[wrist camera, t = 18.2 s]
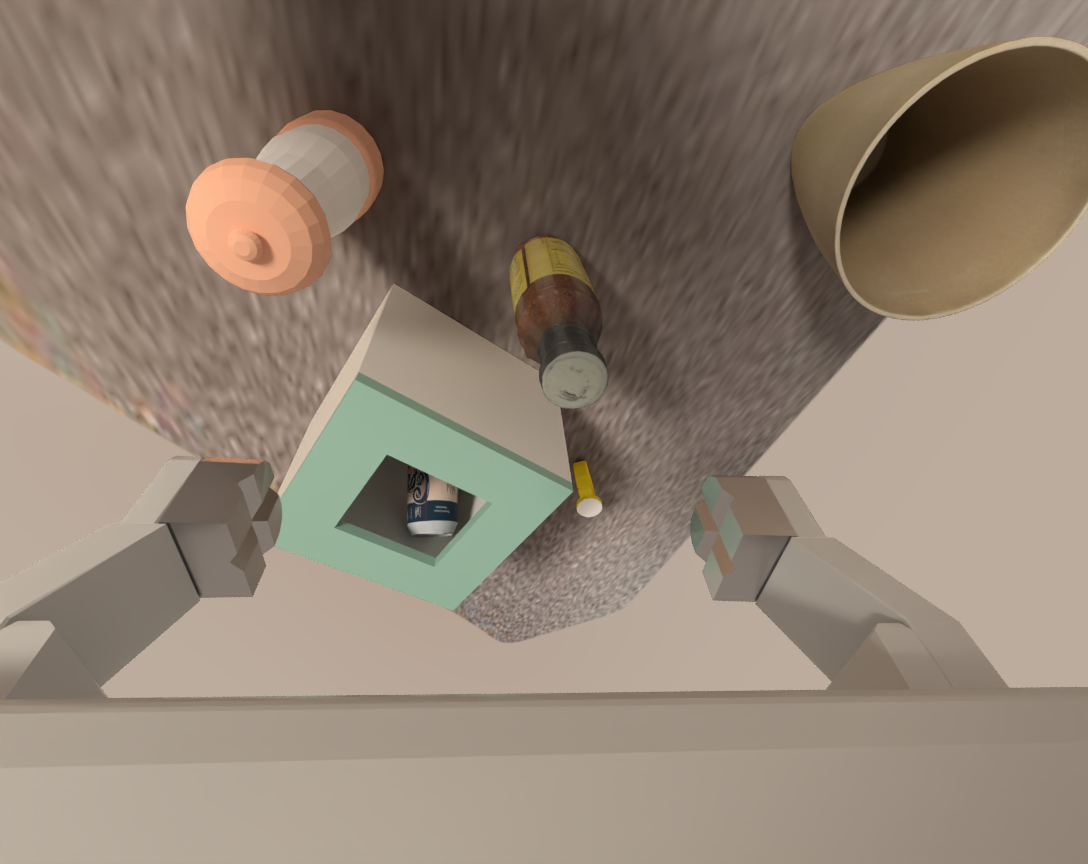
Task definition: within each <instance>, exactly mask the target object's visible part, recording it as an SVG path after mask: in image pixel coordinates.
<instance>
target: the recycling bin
mask: <svg viewBox="0 0 1088 864" xmlns="http://www.w3.org/2000/svg"><path fill="white" fill-rule="evenodd" d="M408 465H410V466H413V467H415V468H417V469H419V470H421V471H423V472H425V473H428V474H430V475H432V476H434V477H436V478H438V479H441V480H443V481H445V482H447V483H449V484H451V485H453V486H456V487H457V514H458V524H457V526H456V528H455V530H454V533H453V535H450V536H443V537H411V534H410V532H409V530H408V528H407V526H406V525H407V471H408ZM572 492H573V486H572V480H571V473H570V467H569V460H568V454H567V448H566V441H565V435H564V428H563V422H562V415H561V409H560V407H559V406H556V405H555V404H553V403H552V402H550V401H549V400H548V399H547V397H546V396H545V395H544V393H543V390H542V387H541V384H540V381H539V371H538V370H536V369H534V368H533V367H531V366H529V365H528V364H526V363H524V362H523V361H521V360H519V359H518V358H516V357H514V356H513V355H511V354H510V353H508V352H506V351H505V350H503V349H501V348H500V347H498V346H496V345H495V344H493V343H491V342H490V341H488V340H486V339H485V338H483V337H481V336H480V335H478V334H477V333H475V332H473V331H472V330H470V329H468V328H467V327H465V326H463V325H462V324H460V323H458V322H457V321H455V320H453V319H452V318H450V317H448V316H447V315H445V314H444V313H442V312H440V311H439V310H437V309H435V308H434V307H432V306H430V305H429V304H427V303H425V302H424V301H422V300H420V299H419V298H417V297H415V296H414V295H412V294H410V293H409V292H407V291H406V290H404V289H402V288H401V287H399V286H397V285H396V284H394V283H393V285H392V287H391V288H390V290H389V292H388V293H387V295H386V297H385V298H384V300H383V302H382V303H381V305H380V307H379V308H378V310H377V312H376V314H375V315H374V317H373V319H372V320H371V322H370V324H369V325H368V327H367V329H366V330H365V332H364V334H363V335H362V337H361V339H360V340H359V342H358V344H357V345H356V347H355V349H354V350H353V352H352V354H351V355H350V357H349V359H348V360H347V362H346V364H345V365H344V367H343V369H342V370H341V372H340V374H339V375H338V377H337V379H336V380H335V382H334V384H333V385H332V387H331V389H330V391H329V392H328V394H327V396H326V397H325V399H324V401H323V402H322V404H321V406H320V407H319V409H318V411H317V412H316V414H315V416H314V417H313V419H312V421H311V423H310V425H309V427H308V429H307V431H306V433H305V436H304V438H303V440H302V442H301V444H300V446H299V448H298V451H297V453H296V455H295V457H294V459H293V461H292V464H291V466H290V468H289V470H288V472H287V474H286V476H285V479H284V481H283V483H282V485H281V487H280V489H279V492H278V495H279V497H280V501H281V505H282V522H281V528H280V533H279V536H278V538H277V541H276V543H275V547H278V548H280V549H283V550H286V551H289V552H292V553H294V554H297V555H300V556H303V557H305V558H309V559H311V560H314V561H317V562H320V563H322V564H325V565H328V566H331V567H333V568H336V569H339V570H342V571H345V572H347V573H350V574H353V575H356V576H358V577H361V578H364V579H367V580H370V581H372V582H375V583H378V584H381V585H383V586H386V587H389V588H392V589H395V590H397V591H400V592H403V593H406V594H409V595H411V596H414V597H417V598H420V599H422V600H425V601H428V602H431V603H434V604H436V605H439V606H442V607H445V608H447V609H450V610H454V609H455V608H456V607H457V606H458V605H459V604H460V603H461V602H462V601H463V600H464V599H465V598H466V597H467V596H468V595H469V594H470V593H471V592H472V591H473V590H474V589H475V588H476V587H477V586H478V585H479V584H480V583H481V582H482V581H483V580H484V579H485V578H486V577H487V576H488V575H489V574H490V573H491V572H492V571H493V570H494V569H495V568H496V567H497V566H498V565H499V564H500V563H501V562H502V561H503V560H504V559H505V558H507V557H508V556H509V555H510V554H511V553H512V552H513V551H514V550H515V549H516V548H517V547H518V546H519V545H520V544H521V543H522V542H523V541H524V540H525V539H526V538H527V537H528V536H529V535H530V534H531V533H532V532H533V531H534V530H535V529H536V528H537V527H538V526H539V525H540V524H541V523H542V522H543V521H544V520H545V519H546V518H547V517H548V516H549V515H550V514H551V513H552V512H553V511H554V510H555V509H556V508H557V507H558V506H559V505H560V504H561V503H562V502H563V501H564V500H565V499H566V498H567V497H568V496H569V495H570V494H571V493H572Z"/></svg>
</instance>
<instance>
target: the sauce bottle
mask: <svg viewBox="0 0 1088 864" xmlns="http://www.w3.org/2000/svg"><path fill="white" fill-rule="evenodd" d="M509 273H510V285H511V293H512V300H513V309H514V318H515V324H516V328H517V330H518V336H519V339H520V343H521V345H522V347H523V349H524V351H525V355H526V356H527V358H530V359H532V360H534V361H536V362H538V363H539V364H540V365H541V366H540V369H539V381H540V384H541V387H542V390H543V393H544V395H545V396H546V397H547V399H548V400H549V401H550V402H552V403H553V404H555V405H556V406H559V407H561V408H568V409H577V408H582V407H586V406H588V405H591V404H593V403H594V402H595V401H597V400H598V399H599V398H600V397H601V396H602V394H603V393H604V391H605V389H606V387H607V385H608V370H607V367H606V363H605V360H604V358H603V356H602V354H601V353H600V352H599V351H598V350H597V342H598V340H599V337H600V334H601V330H602V313H601V308H600V305H599V302H598V300H597V297H596V295H595V292H594V290H593V288H592V285H591V283H590V280H589V278H588V276H587V274H586V272H585V270H584V267H583V265H582V263H581V261H580V259H579V257H578V255H577V253H576V252H575V250H574V249H573V248H572V247H571V246H570V245H569V244H567V243H566V242H565V241H563V240H561V239H559V238H556V237H554V236H552V235H541V236H536V237H534V238H531V239H529V240H527V241H526V242H524V243H523V244H521V245H520V246H519V247H518V249H517V250H516V252H515V254H514V256H513V260H512V263H511V267H510V272H509Z"/></svg>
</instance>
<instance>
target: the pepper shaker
mask: <svg viewBox="0 0 1088 864" xmlns="http://www.w3.org/2000/svg"><path fill="white" fill-rule="evenodd" d="M383 174H384V168H383V163H382V157H381V153H380V151H379V149H378V147H377V145H376V143H375V141H374V139H373V138H372V137H371V135H370V134H369V133H368V132H367V131H366V130H365V128H364V127H363V126H362V125H361V124H359V123H358V122H356V121H355V120H353V119H352V118H350V117H349V116H347V115H345V114H342V113H339V112H335V111H332V110H316V111H312V112H310V113H308V114H306V115H303V116H301V117H299V118H297V119H295V120H293V121H291V122H289V123H287V124H286V125H285V127H284V128H283V129H282V130H281V131H280V132H279V133H278V134H277V135H276V136H275V137H273V138H272V139H271V140H270V141H269V142H268V143H267V145H266V146H265V147H264V148H263V149H262V151H261V152H260V154H259V155H258V157H257V158H256V160H255V159H252V158H230V159H224V160H222V161H220V162H218V163H215V164H213V165H211V166H208V167H207V168H206V169H205V170H204V171H203V172H202V173H201V175H200V176H199V177H198V178H197V179H196V180H195V181H194V183H193V185H192V188H191V191H190V194H189V198H188V201H187V204H186V216H187V228H188V230H189V232H190V235H191V237H192V240H193V242H194V245H195V247H196V249H197V250H198V251H199V253H200V254H201V255H202V257H203V258H204V259H205V261H206V262H207V263H208V265H209V266H210V267H211V268H212V269H213V270H215V271H216V272H217V273H218V274H219V275H221V276H222V277H223V278H224V279H225V280H227V281H228V282H230V283H232V284H234V285H236V286H238V287H240V288H242V289H244V290H246V291H249V292H253V293H257V294H262V295H266V296H276V295H288V294H291V293H293V292H296V291H299V290H301V289H304V288H306V287H309V286H310V285H311V284H312V283H313V282H315V281H316V280H317V279H318V278H319V277H320V276H321V275H322V274H323V272H324V270H325V268H326V265H327V263H328V261H329V259H330V250H331V238H332V237H334V236H336V235H338V234H340V233H341V232H343V231H345V230H346V229H347V228H348V227H349V226H350V225H351V224H352V223H353V222H354V221H355V220H358V219H359V218H360V217H361V216H362V215H363V214H364V213H365V212H366V211H367V210H368V209H369V208H370V206H371V205H372V203H373V202H374V201H375V199H376V197H377V195H378V193H379V191H380V189H381V187H382V182H383Z"/></svg>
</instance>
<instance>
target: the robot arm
mask: <svg viewBox="0 0 1088 864" xmlns="http://www.w3.org/2000/svg"><path fill="white" fill-rule="evenodd" d="M273 479H274V474H273V471H272V468H271V465H270V463H269V462H267V461H265V460H253V459H235V458H217V457H206V458H204V457H189V456H175V457H173V458H171V459H169V460H168V461H167V462H166V463H165V465H164V466H163V467H162V469H161V470H160V471H159V472H158V474H157V475H156V476H155V478H154V479H153V481H152V482H151V483H150V484H149V486H148V487H147V489H146V490H145V491H144V492H143V494H142V495H141V496H140V498H139V499H138V500H137V502H136V503H135V504H134V505H133V507H132V508H131V510H130V511H129V512H128V513H127V515H126V516H125V517H124V519H123V520H122V521H121V523H109V524H107V525H105V526H103V527H102V528H100V529H98V530H96V531H94V532H92V533H91V534H89V535H87V536H85V537H83V538H81V539H79V540H78V541H76V542H74V543H72V544H70V545H68V546H66V547H65V548H63V549H61V550H59V551H57V552H55V553H53V554H52V555H50V556H48V557H46V558H44V559H42V560H41V561H39V562H37V563H35V564H33V565H31V566H29V567H28V568H26V569H24V570H22V571H20V572H18V573H16V574H15V575H13V576H11V577H9V578H7V579H5V580H3V581H2V582H0V864H1088V687H1044V688H1043V687H1041V688H1009V687H1008V686H1007V684H1006V683H1005V682H1004V680H1003V679H1002V678H1001V676H1000V675H999V674H998V673H997V671H996V670H995V669H994V667H993V666H992V665H991V663H990V662H989V661H988V660H987V658H986V657H985V655H984V654H983V653H982V651H981V650H980V649H979V647H978V646H977V645H976V643H975V642H974V641H973V639H972V638H971V637H970V636H969V634H968V633H967V632H966V630H965V629H964V628H963V626H962V625H961V624H960V622H958V621H957V620H956V619H954V618H952V617H951V616H950V615H948V614H947V613H945V612H944V611H942V610H940V609H939V608H938V607H936V606H935V605H933V604H932V603H930V602H929V601H927V600H926V599H924V598H923V597H921V596H920V595H918V594H917V593H915V592H914V591H912V590H911V589H909V588H908V587H906V586H905V585H903V584H902V583H900V582H899V581H897V580H896V579H894V578H893V577H892V576H890V575H889V574H887V573H885V572H884V571H883V570H881V569H880V568H878V567H877V566H875V565H873V564H872V563H871V562H869V561H868V560H866V559H865V558H863V557H862V556H860V555H859V554H857V553H856V552H854V551H853V550H851V549H850V548H848V547H847V546H845V545H844V544H842V543H841V542H839V541H838V540H836V539H835V538H826V536H825V535H824V533H823V531H822V530H821V528H820V527H819V525H818V524H817V522H816V520H815V519H814V517H813V516H812V514H811V512H810V511H809V509H808V508H807V506H806V505H805V503H804V501H803V500H802V498H801V497H800V495H799V494H798V492H797V490H796V489H795V487H794V486H793V484H792V483H791V481H790V480H789V479H787V478H786V477H784V476H759V477H756V476H722V475H709V477H708V478H707V479H706V480H705V482H704V484H703V487H702V489H701V491H702V493H703V496H704V498H705V500H703V501H702V502H701V503H699V504H698V505H697V506H695V509H694V512H693V515H692V518H691V532H690V533H691V539H692V544H693V546H694V550H695V552H696V554H697V555H698V556H700V557H701V558H702V559H703V560H704V561H705V562H706V564H705V567H704V569H703V574H704V577H705V580H706V583H707V585H708V588H709V591H710V593H711V596H712V599H713V600H719V601H720V600H721V601H748V602H756V605H757V606H758V607H759V608H760V609H761V610H762V611H763V612H764V613H765V614H766V615H767V616H768V617H769V618H770V619H771V620H772V621H773V622H774V623H775V624H776V625H777V626H778V627H779V628H780V629H781V630H782V631H783V632H784V633H785V634H786V635H787V636H788V637H789V639H791V641H793V643H794V644H795V645H796V646H798V648H799V649H801V651H802V652H803V653H804V654H805V655H806V656H807V657H808V658H809V659H810V660H811V661H812V662H813V663H814V664H815V665H816V666H817V667H818V668H819V669H820V670H821V671H822V672H823V673H824V674H825V675H826V676H827V677H828V678H829V679H830V680H831V681H832V682H831V684H830V685H829V686H828V687H827V689H826V690H778V691H777V690H776V691H775V690H774V691H693V692H692V691H691V692H620V693H619V692H616V693H615V692H614V693H613V692H610V693H536V694H534V693H533V694H442V695H441V694H438V695H352V696H351V695H350V696H349V695H347V696H266V697H265V696H259V697H179V698H178V697H174V698H173V697H171V698H108V697H107V695H106V694H105V693H104V691H103V690H102V689H101V686H102V685H104V684H105V683H106V682H107V681H108V680H109V679H110V678H111V677H113V676H114V675H115V674H116V673H117V672H119V671H120V670H121V669H122V668H123V667H124V666H125V665H127V664H128V663H129V662H130V661H131V660H132V659H133V658H135V657H136V656H137V655H138V654H139V653H140V652H142V651H143V650H144V649H145V648H146V647H147V646H148V645H150V644H151V643H152V642H153V641H154V640H155V639H157V638H158V637H159V636H160V635H161V634H162V633H163V632H164V631H166V630H167V629H168V628H169V627H170V626H171V625H173V624H174V623H175V622H176V621H177V620H178V619H179V618H181V617H182V616H183V615H184V614H185V613H186V612H188V611H189V610H190V609H191V608H192V607H193V606H194V605H196V604H197V603H198V602H199V601H200V598H209V597H210V598H211V597H252V596H253V595H254V592H255V590H256V588H257V585H258V583H259V581H260V578H261V576H262V574H263V571H264V569H265V567H266V564H265V561H264V557H263V554H264V553H265V552H267V551H268V550H270V549H271V548H272V547H274V546H275V543H276V541H277V538H278V536H279V533H280V528H281V522H282V505H281V501H280V497H279V495H278V494H277V493H276V492H274V491H273V490H272V489H271V488H270V485H271V483H272V481H273Z"/></svg>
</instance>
